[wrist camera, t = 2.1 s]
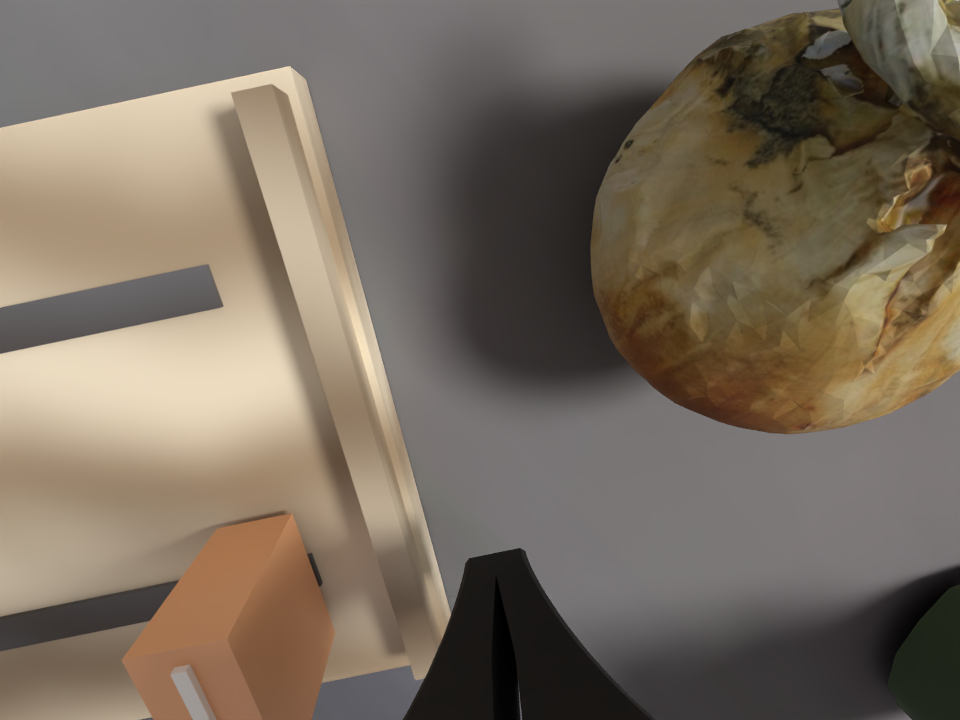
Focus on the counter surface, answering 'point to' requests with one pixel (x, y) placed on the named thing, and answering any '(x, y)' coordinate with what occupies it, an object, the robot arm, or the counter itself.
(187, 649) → the terracotta fader
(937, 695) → the character mug
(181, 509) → the birch console
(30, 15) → the counter surface
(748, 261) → the onion
